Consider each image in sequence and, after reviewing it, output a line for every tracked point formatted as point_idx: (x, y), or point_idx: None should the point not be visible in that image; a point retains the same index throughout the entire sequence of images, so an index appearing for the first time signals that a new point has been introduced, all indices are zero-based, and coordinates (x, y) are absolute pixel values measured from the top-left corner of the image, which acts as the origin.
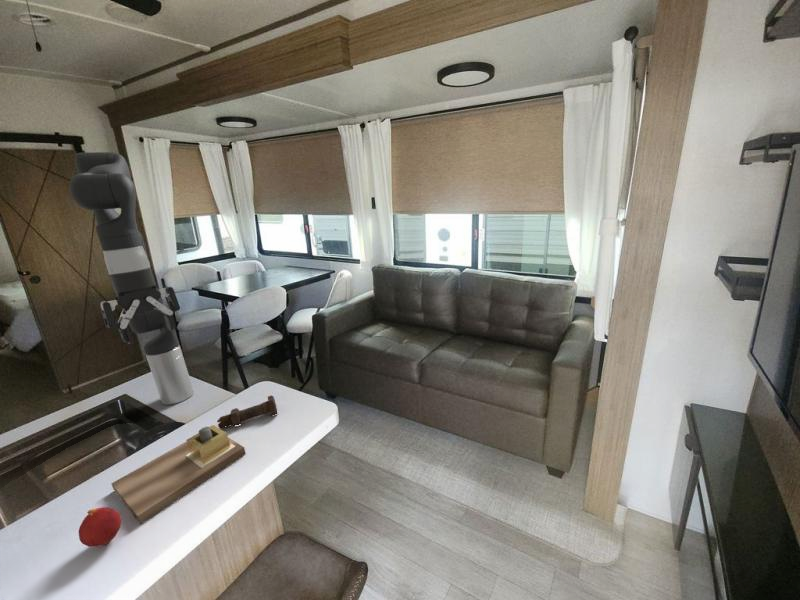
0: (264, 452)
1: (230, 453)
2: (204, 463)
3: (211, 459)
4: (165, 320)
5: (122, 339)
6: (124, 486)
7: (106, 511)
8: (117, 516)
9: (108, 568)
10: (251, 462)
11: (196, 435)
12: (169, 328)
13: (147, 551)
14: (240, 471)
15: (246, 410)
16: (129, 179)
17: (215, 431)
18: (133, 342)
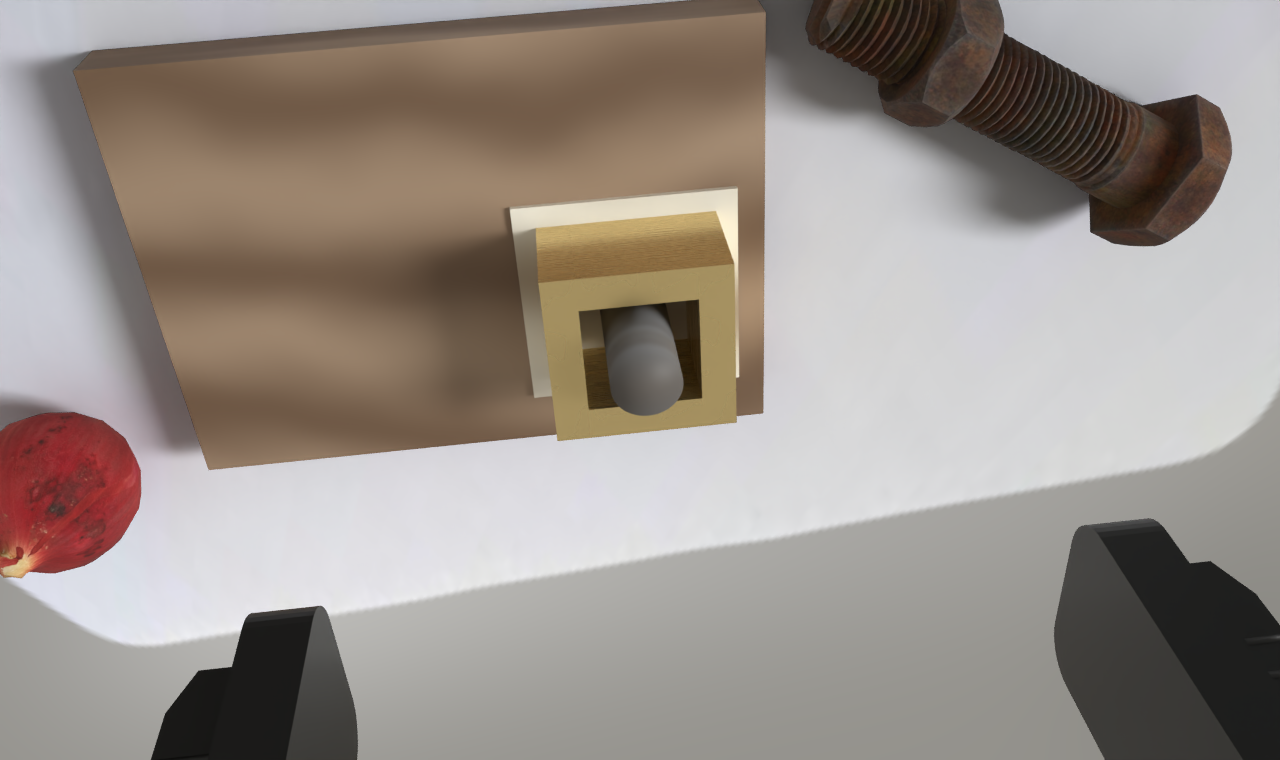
0: (815, 448)
1: None
2: None
3: None
4: (1196, 707)
5: (167, 741)
6: (152, 184)
7: (78, 554)
8: (125, 527)
9: None
10: (733, 462)
11: (604, 290)
12: (1082, 629)
13: (231, 584)
14: (665, 476)
15: (1015, 116)
16: None
17: (702, 354)
18: (357, 742)
